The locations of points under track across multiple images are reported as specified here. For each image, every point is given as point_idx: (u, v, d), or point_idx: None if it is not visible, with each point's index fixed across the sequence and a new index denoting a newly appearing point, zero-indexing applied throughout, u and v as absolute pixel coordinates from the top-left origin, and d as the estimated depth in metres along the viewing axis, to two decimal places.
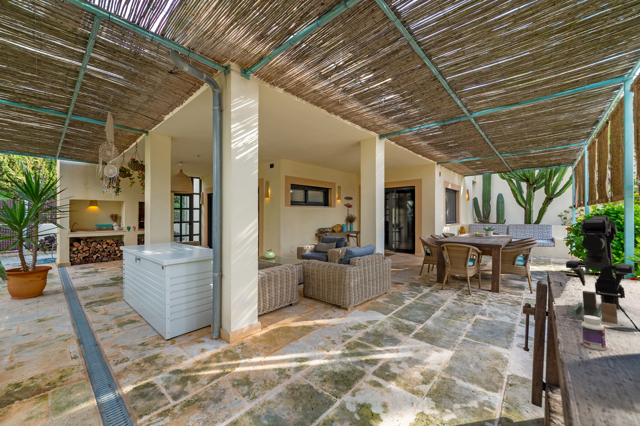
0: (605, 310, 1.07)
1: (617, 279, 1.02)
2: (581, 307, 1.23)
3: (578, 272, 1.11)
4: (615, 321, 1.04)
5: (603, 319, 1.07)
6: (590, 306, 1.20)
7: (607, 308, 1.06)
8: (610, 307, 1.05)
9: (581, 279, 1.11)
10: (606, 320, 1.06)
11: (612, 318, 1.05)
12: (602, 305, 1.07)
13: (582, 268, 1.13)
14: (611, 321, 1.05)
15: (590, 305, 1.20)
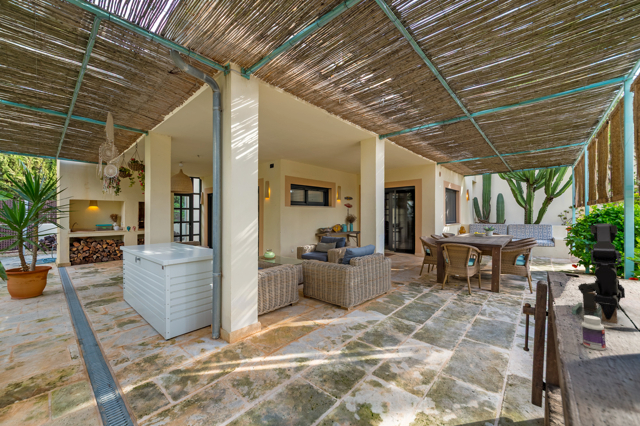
0: None
1: (602, 308, 1.05)
2: (581, 307, 1.23)
3: None
4: (615, 321, 1.04)
5: (603, 319, 1.07)
6: (590, 306, 1.20)
7: None
8: None
9: None
10: (606, 320, 1.06)
11: (612, 318, 1.05)
12: None
13: (617, 298, 1.08)
14: (611, 321, 1.05)
15: (590, 305, 1.20)
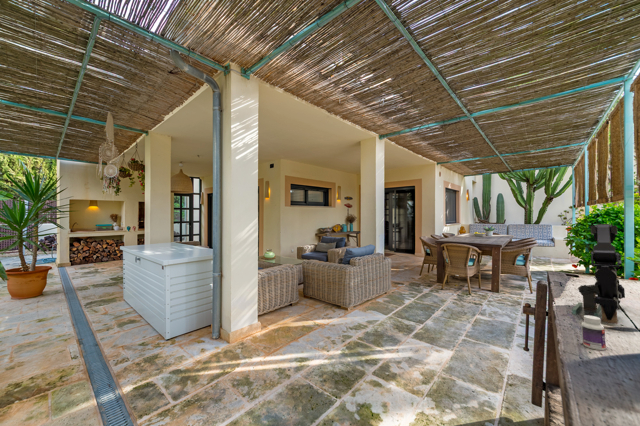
0: None
1: (603, 308, 1.06)
2: (581, 307, 1.23)
3: None
4: (615, 321, 1.04)
5: (603, 319, 1.07)
6: (590, 306, 1.20)
7: None
8: None
9: None
10: (606, 320, 1.06)
11: (612, 318, 1.05)
12: None
13: None
14: (611, 321, 1.05)
15: (590, 305, 1.20)
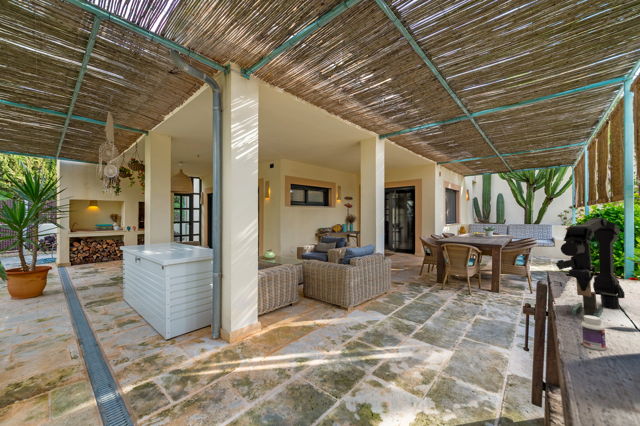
0: None
1: (578, 280, 1.14)
2: (581, 307, 1.23)
3: None
4: (588, 292, 1.12)
5: (578, 291, 1.15)
6: (590, 306, 1.20)
7: None
8: None
9: None
10: (581, 291, 1.14)
11: (586, 289, 1.13)
12: None
13: (590, 274, 1.15)
14: (585, 292, 1.13)
15: (590, 305, 1.20)
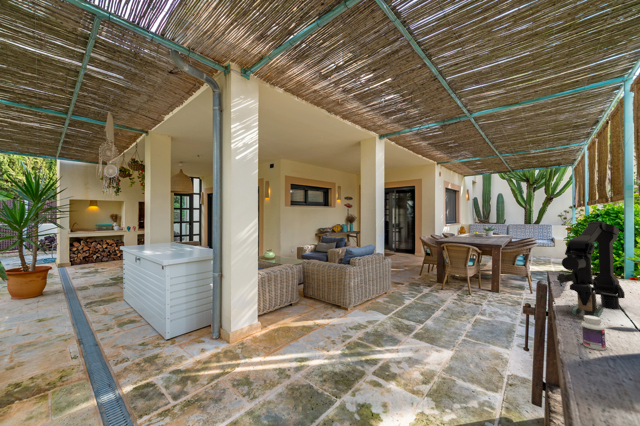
0: None
1: (579, 294, 1.14)
2: None
3: None
4: (590, 306, 1.12)
5: (579, 305, 1.15)
6: None
7: None
8: None
9: None
10: (582, 306, 1.14)
11: (587, 304, 1.13)
12: None
13: (591, 288, 1.14)
14: (586, 306, 1.13)
15: None
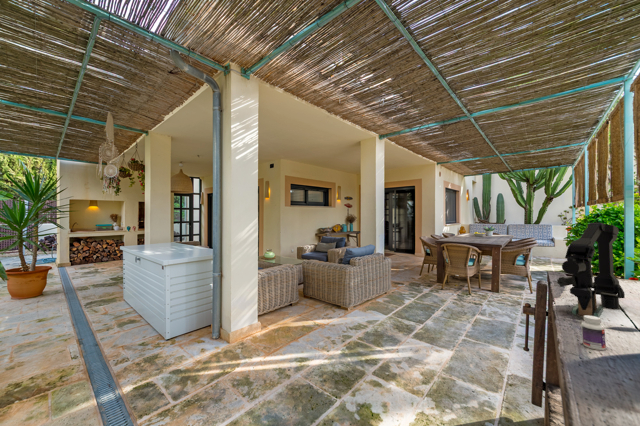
0: None
1: None
2: None
3: None
4: (590, 312, 1.12)
5: (579, 310, 1.15)
6: None
7: None
8: None
9: None
10: (582, 311, 1.14)
11: (587, 309, 1.13)
12: None
13: (592, 291, 1.15)
14: (586, 312, 1.13)
15: None
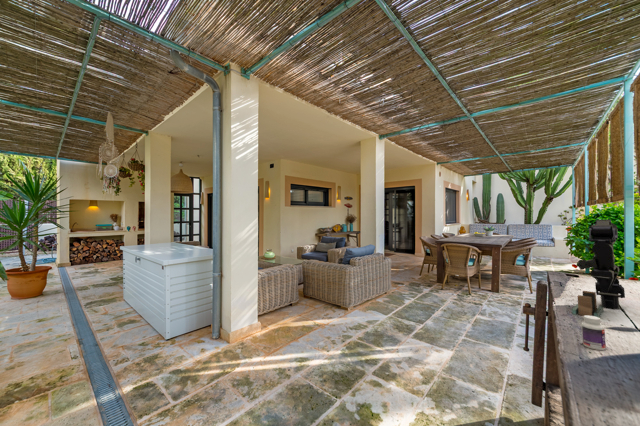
0: (581, 302, 1.14)
1: (599, 282, 1.11)
2: None
3: None
4: (590, 312, 1.12)
5: (579, 310, 1.15)
6: None
7: (583, 300, 1.14)
8: (586, 299, 1.13)
9: None
10: (582, 311, 1.14)
11: (587, 309, 1.13)
12: (578, 297, 1.15)
13: (614, 273, 1.14)
14: (586, 312, 1.13)
15: None
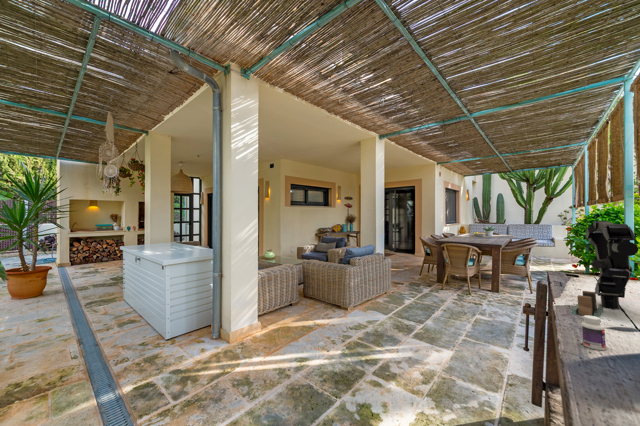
0: (581, 302, 1.14)
1: (614, 281, 1.09)
2: None
3: None
4: (590, 312, 1.12)
5: (579, 310, 1.15)
6: None
7: (583, 300, 1.14)
8: (586, 299, 1.13)
9: None
10: (582, 311, 1.14)
11: (587, 309, 1.13)
12: (578, 297, 1.15)
13: None
14: (586, 312, 1.13)
15: None
